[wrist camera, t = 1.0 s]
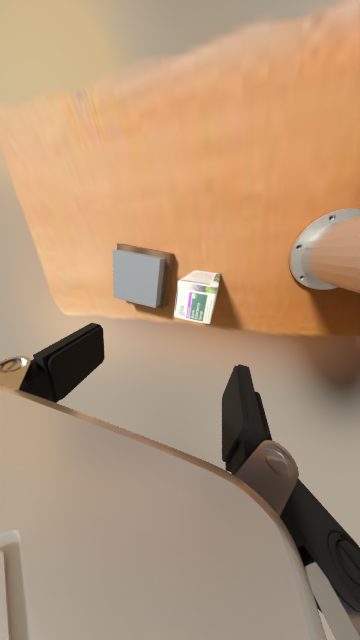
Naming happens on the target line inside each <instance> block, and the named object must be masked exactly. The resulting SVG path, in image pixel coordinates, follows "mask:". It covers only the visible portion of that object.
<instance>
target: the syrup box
mask: <svg viewBox="0 0 360 640" xmlns="http://www.w3.org/2000/svg"><path fill="white" fill-rule="evenodd" d="M220 277H221V274H220V273H213V272H205V271H198V270H195V271H193V272H192V273H190V274H189V275H187V276H186V277H184V278H182V279H181V280H179V281H178V287H177V294H176V301H175V312H174V317H176V318H181V319H186V320H190V321H195V322H200V323H206V324H210V322H211V318H212V314H213V310H214V306H215V302H216V298H217V294H218V288H219V282H220Z"/></svg>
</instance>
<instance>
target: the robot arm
mask: <svg viewBox="0 0 360 640" xmlns="http://www.w3.org/2000/svg"><path fill="white" fill-rule="evenodd" d="M329 217H330V218H331V219H330V220H329ZM297 246H299V247H298V249H296V247H297ZM289 266H290V270H291V273H292V275H293V276H294V278H295V279H296V280H297V281H298V282H299V283H301V284H302V285H304V286H306V287H309V288H312V289H317V290H328V289H334V288H338V287H340V288H344V289H347V290H350V291H353V292H356V293H360V209H350V208H348V209H342V210H337V211H334V212H331V213H329V214H326V215H324V216H322V217H320V218H318V219H317V220H315V221H313V222H312V223H311V224H310V225H308V226H307V227H306V228H305V229H304V230H303V231H302V232H301V233H300V235H299V236H298V237H297V239H296V240H295V242H294V244H293V246H292V249H291V252H290V256H289ZM301 276H302V278H300V277H301ZM33 357H34V359H33V360H30V358H28V357H25V356H18V357H12V358H8V359H5V360H3V361H1V362H0V640H327V639H326V636H325V632H324V629H323V626H322V622H321V619H320V616H319V612H318V609H319V610H320V611H321V612H322V613H323V615H324V617H325V619H326V621H327V623H328V624H329V627H330V629H331V631H332V633H333V635H334V637H335V639H336V640H360V547H359V546H358V545H357V544H356V542H355V541H354V540H353V539H352V538H351V537H350V536H349V535H348V533H347V532H346V531H345V530H344V529H343V528H342V527H341V526H340V525H339V523H338V522H337V521H336V520H335V519H334V518H333V517H332V516H331V515H330V513H328V511H327V510H326V509H325V508H324V507H323V506H322V504H321V503H320V502H319V501H318V500H317V499H316V498H315V497H314V496H313V494H312V493H311V492H310V491H309V490H308V489H307V488H306V487H305V486H304V484H303V483H301V481H300V480H299V479H298V476H299V473H298V468H297V466H296V463H295V461H294V459H293V458H292V456H291V455H290V454H289V453H288V451H287V450H286V449H285V448H284V447H282V446H281V445H280V444H278V443H276V442H274V441H272V438H271V434H270V431H269V427H268V423H267V419H266V416H265V412H264V408H263V404H262V400H261V397H260V394H259V393H258V392H255V391H254V387H253V383H252V378H251V374H250V370H249V367H247V366H243V365H238V366H235V367H234V369H233V372H232V374H231V377H230V379H229V381H228V384H227V386H226V389H225V391H224V394H223V397H222V460H223V461H224V462H226V471H225V470H223V469H221V468H219V467H217V466H215V465H213V464H211V463H209V462H206V461H204V460H202V459H199V458H197V457H194V456H192V455H189V454H187V453H184V452H182V451H179V450H177V449H175V448H172V447H169V446H167V445H164V444H162V443H159V442H156V441H154V440H151V439H149V438H146V437H144V436H141V435H139V434H136V433H133V432H131V431H128V430H125V429H123V428H120V427H118V426H115V425H112V424H110V423H107V422H104V421H102V420H99V419H97V418H94V417H91V416H88V415H86V414H83V413H81V412H78V411H76V410H73V409H70V408H67V407H65V406H62V405H59V404H57V402H58V401H59V400H61V399H63V398H64V397H65V396H66V395H68V393H70V392H71V391H72V390H73V389H74V388H75V387H76V386H77V385H78V384H79V383H80V382H82V381H83V380H84V378H86V377H87V376H88V375H89V374H90V373H91V372H92V371H93V370H94V369H96V368H97V367H98V366H99V365H100V364H101V363H102V362H103V360H104V339H103V328H102V327H101V325H98V324H95V323H91V324H89V325H87V326H85V327H83V328H81V329H80V330H78V331H76V332H74V333H72V334H70V335H69V336H67V337H65V338H63V339H61V340H60V341H58V342H56V343H54V344H52V345H50V346H49V347H47V348H45V349H43V350H41V351H40V352H38V353H36V354H34V355H33ZM227 471H229V472H232V474H230V473H229V472H227Z"/></svg>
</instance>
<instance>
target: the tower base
mask: <svg viewBox="0 0 360 640" xmlns="http://www.w3.org/2000/svg"><path fill="white" fill-rule="evenodd" d="M117 250H124V251H129V252H134V253H140V254H145V255H150V256H155V257H160V258H165V265H164V274H163V283H162V292H161V301H160V304H159V305H158V306H157V307H160V308H165V307H166V306H167V301H168V294H169V287H170V279H171V272H172V264H173V257H174V254H173V253H168V252H162V251H157V250H152V249H147V248H142V247H136V246H131V245H126V244H117Z"/></svg>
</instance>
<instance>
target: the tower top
mask: <svg viewBox="0 0 360 640" xmlns="http://www.w3.org/2000/svg"><path fill="white" fill-rule="evenodd" d="M164 265H165V258H160V257H155V256H150V255H145V254H140V253H134V252H129V251H124V250H113V277H114V298H117V299H121V300H125V301H129V302H133V303H137V304H141V305H145V306H150V307H154V308H156V307H157V306H158V305H159V304H160V301H161V292H162V283H163V274H164Z"/></svg>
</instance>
